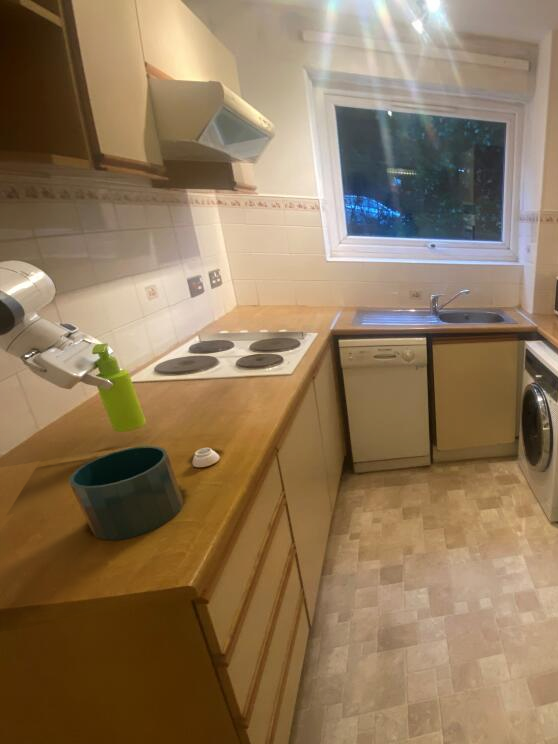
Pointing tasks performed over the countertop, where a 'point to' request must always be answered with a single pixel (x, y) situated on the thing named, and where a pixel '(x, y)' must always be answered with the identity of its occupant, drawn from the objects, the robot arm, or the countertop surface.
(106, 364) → the soap dispenser
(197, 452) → the white bowl
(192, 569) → the countertop surface
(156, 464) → the canister
